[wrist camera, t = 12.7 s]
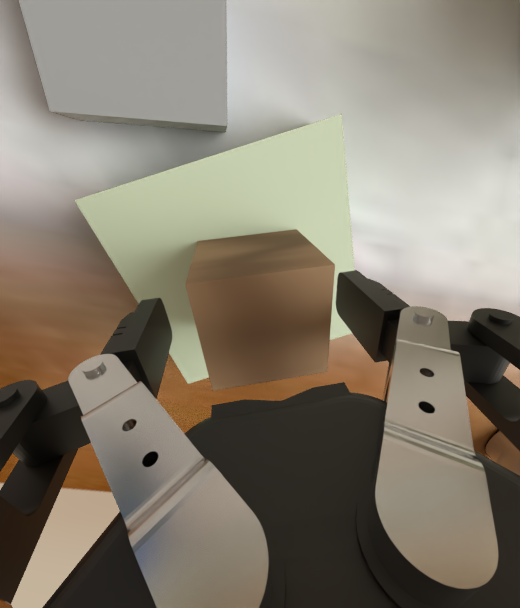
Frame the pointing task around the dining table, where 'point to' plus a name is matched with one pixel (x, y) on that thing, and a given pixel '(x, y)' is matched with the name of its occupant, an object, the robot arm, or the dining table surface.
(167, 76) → the slate block
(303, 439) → the robot arm
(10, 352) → the dining table surface
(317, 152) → the sage block
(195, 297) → the walnut cube
